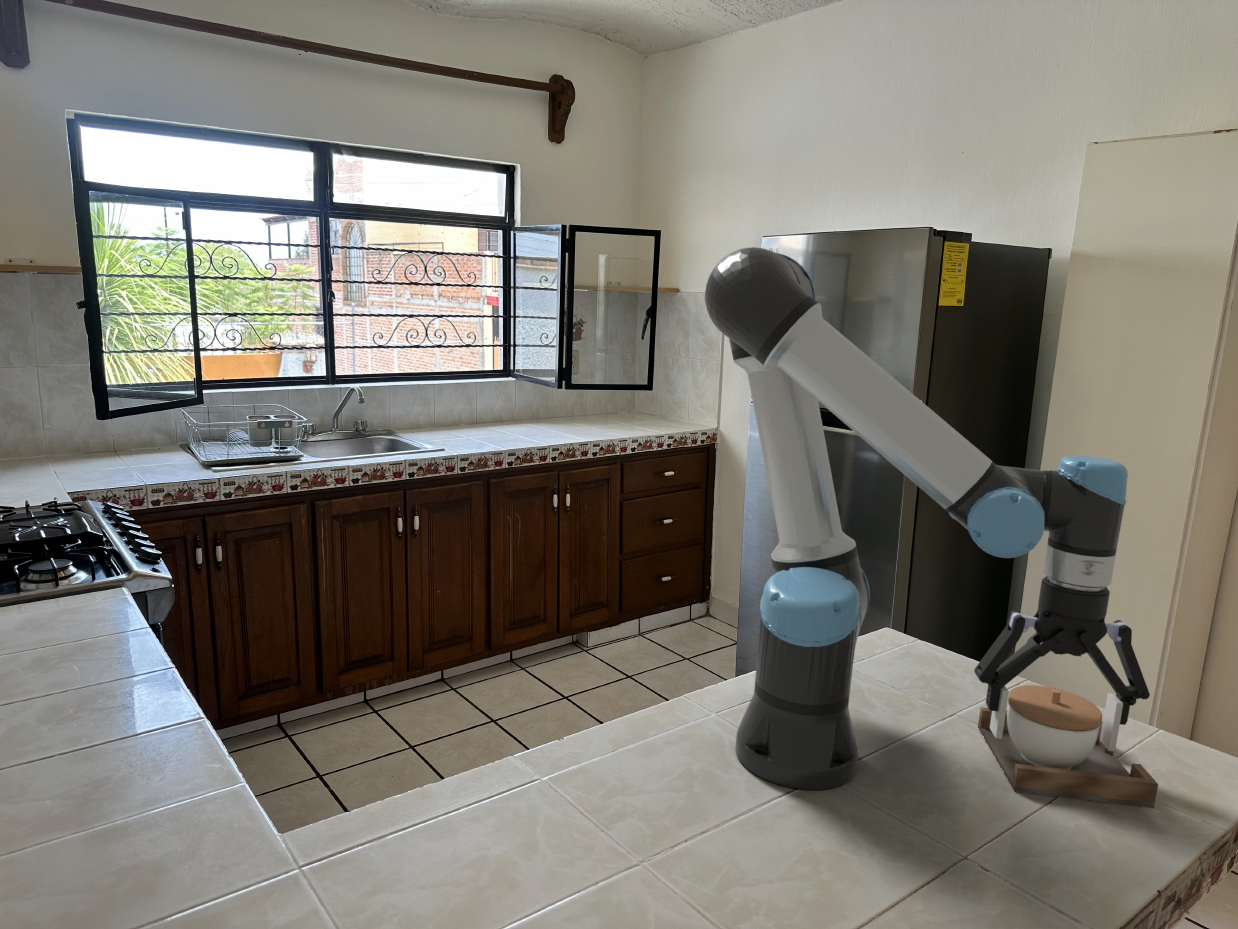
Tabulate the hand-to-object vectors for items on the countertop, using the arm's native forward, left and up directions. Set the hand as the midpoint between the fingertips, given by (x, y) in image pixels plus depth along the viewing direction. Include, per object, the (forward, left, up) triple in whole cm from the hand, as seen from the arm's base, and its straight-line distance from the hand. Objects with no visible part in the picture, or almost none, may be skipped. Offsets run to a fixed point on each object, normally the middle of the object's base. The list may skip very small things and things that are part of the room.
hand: (1050, 739), depth 108 cm
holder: (+1, 0, -3) cm, 4 cm away
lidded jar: (0, 0, -3) cm, 3 cm away
